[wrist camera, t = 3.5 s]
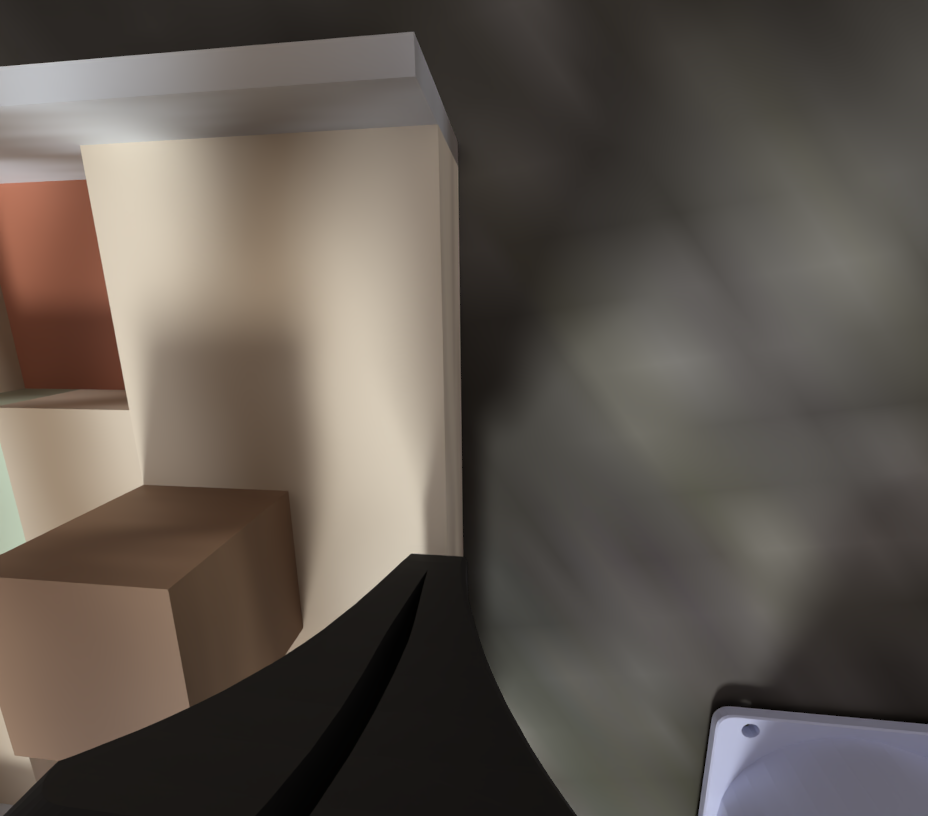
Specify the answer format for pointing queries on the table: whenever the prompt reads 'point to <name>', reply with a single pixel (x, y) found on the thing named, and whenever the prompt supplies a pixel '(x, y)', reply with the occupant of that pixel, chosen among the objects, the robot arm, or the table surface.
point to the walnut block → (142, 612)
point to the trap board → (234, 300)
